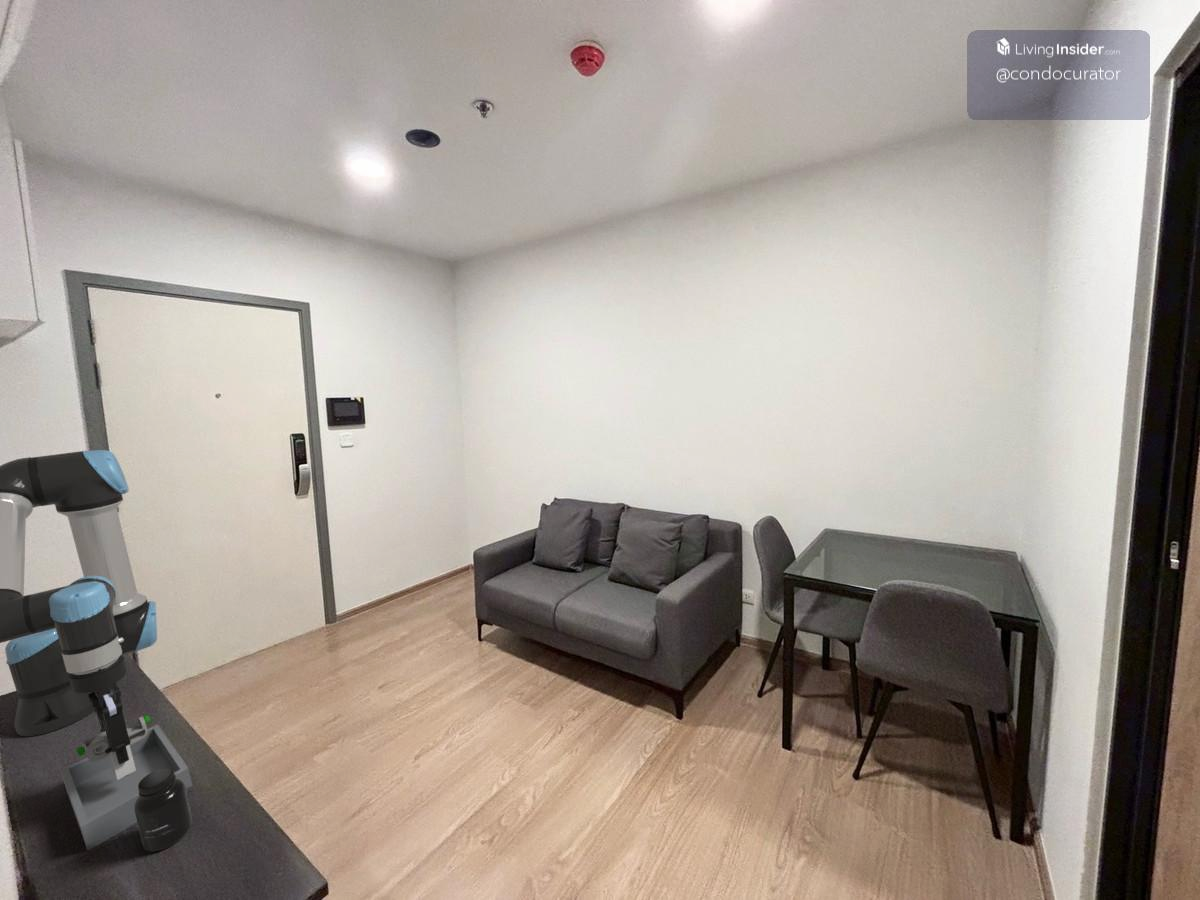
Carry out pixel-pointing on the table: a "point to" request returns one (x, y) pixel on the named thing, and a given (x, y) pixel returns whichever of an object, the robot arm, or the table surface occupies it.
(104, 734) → the mechanical component
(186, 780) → the bin
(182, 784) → the supplement bottle
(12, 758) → the table surface
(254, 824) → the table surface
